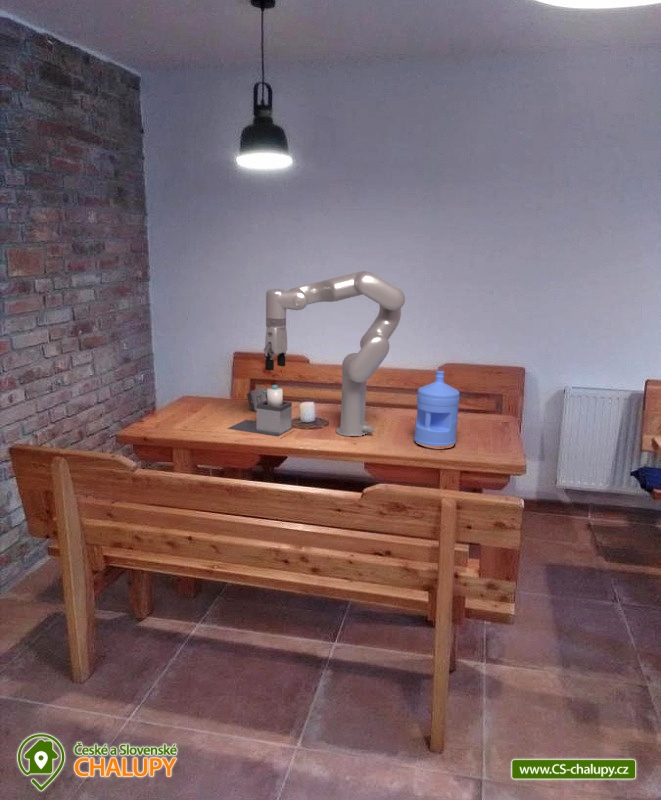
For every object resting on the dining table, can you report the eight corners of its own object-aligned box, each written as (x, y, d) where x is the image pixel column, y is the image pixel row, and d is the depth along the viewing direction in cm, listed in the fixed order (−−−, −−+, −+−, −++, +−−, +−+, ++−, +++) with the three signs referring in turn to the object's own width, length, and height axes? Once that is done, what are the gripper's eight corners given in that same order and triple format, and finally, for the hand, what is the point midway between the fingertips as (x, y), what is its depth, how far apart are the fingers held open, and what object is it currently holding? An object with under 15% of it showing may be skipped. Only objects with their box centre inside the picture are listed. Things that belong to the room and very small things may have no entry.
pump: (285, 405, 252) (285, 384, 250) (279, 409, 246) (278, 387, 245) (267, 404, 254) (267, 382, 252) (260, 407, 249) (260, 385, 247)
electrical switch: (256, 412, 283) (255, 391, 281) (246, 411, 285) (245, 390, 284) (268, 408, 291) (267, 387, 289) (258, 407, 293) (257, 387, 292)
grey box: (296, 429, 259) (297, 400, 256) (278, 440, 244) (278, 409, 241) (247, 422, 266) (248, 393, 264) (227, 432, 252) (227, 402, 249)
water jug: (427, 435, 257) (432, 366, 251) (463, 444, 248) (469, 372, 241) (405, 443, 246) (410, 371, 239) (442, 453, 236) (448, 377, 229)
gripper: (274, 326, 233) (274, 372, 237) (294, 321, 249) (294, 365, 253) (256, 324, 236) (255, 370, 240) (277, 319, 252) (276, 363, 256)
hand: (275, 367), depth 246 cm, fingers open, 9 cm apart
